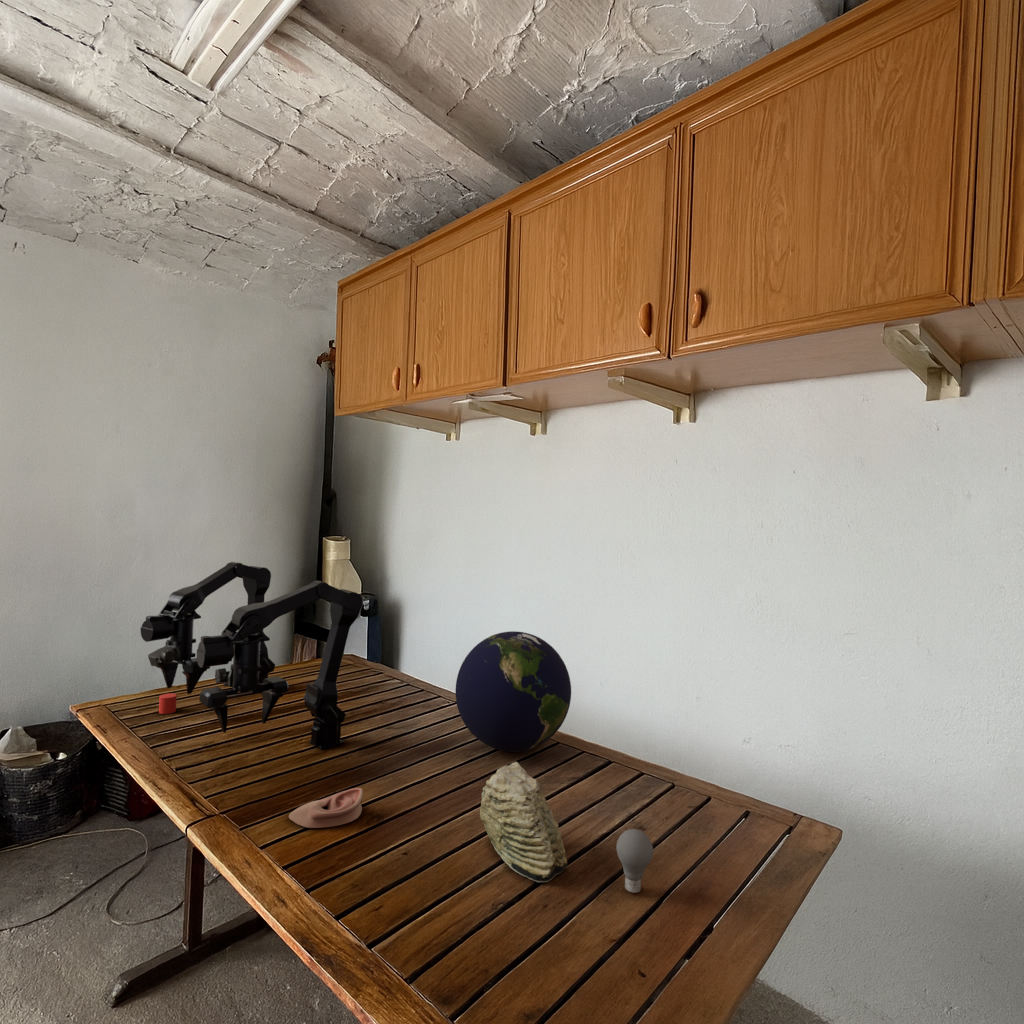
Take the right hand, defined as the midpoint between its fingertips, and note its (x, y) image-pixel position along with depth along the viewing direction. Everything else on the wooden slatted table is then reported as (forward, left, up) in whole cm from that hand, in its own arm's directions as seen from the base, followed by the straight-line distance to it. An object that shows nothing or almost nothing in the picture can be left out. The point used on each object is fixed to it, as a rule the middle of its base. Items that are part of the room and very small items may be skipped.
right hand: (244, 727), depth 148 cm
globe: (-54, +36, -8) cm, 65 cm away
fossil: (-18, +71, -8) cm, 73 cm away
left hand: (-2, -45, -2) cm, 45 cm away
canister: (0, -47, -8) cm, 48 cm away
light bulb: (-24, +91, -8) cm, 94 cm away
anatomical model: (-1, +34, -8) cm, 35 cm away
